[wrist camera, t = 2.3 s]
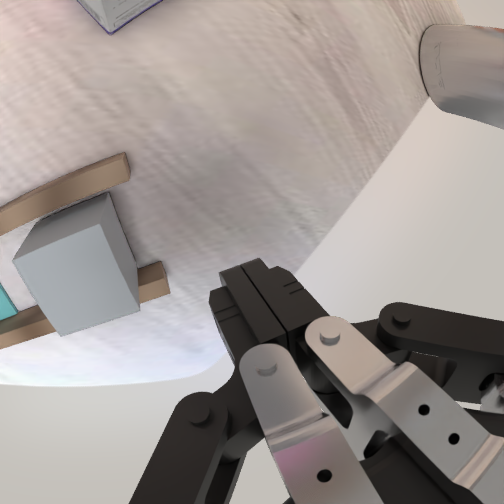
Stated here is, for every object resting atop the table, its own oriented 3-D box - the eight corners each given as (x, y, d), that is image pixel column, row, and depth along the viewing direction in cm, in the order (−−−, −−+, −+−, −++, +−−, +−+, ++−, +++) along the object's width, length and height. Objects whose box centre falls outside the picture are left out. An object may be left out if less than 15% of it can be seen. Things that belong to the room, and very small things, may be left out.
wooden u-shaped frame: (124, 151, 14) (122, 158, 13) (166, 275, 19) (170, 293, 18) (-83, 263, 10) (-94, 277, 8) (-31, 344, 15) (-37, 360, 13)
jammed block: (108, 192, 15) (100, 223, 11) (136, 264, 17) (140, 310, 14) (36, 222, 14) (11, 260, 10) (70, 288, 16) (60, 336, 13)
